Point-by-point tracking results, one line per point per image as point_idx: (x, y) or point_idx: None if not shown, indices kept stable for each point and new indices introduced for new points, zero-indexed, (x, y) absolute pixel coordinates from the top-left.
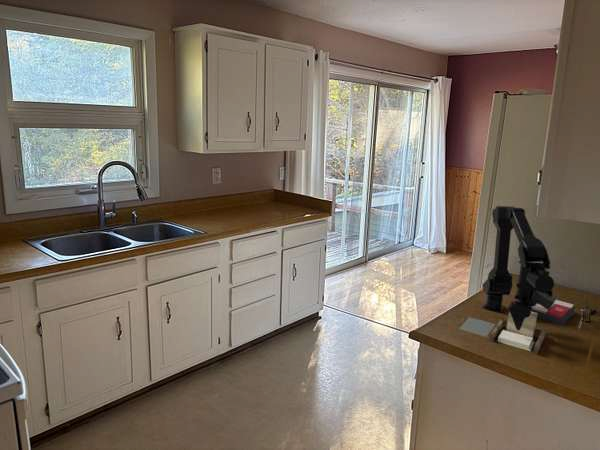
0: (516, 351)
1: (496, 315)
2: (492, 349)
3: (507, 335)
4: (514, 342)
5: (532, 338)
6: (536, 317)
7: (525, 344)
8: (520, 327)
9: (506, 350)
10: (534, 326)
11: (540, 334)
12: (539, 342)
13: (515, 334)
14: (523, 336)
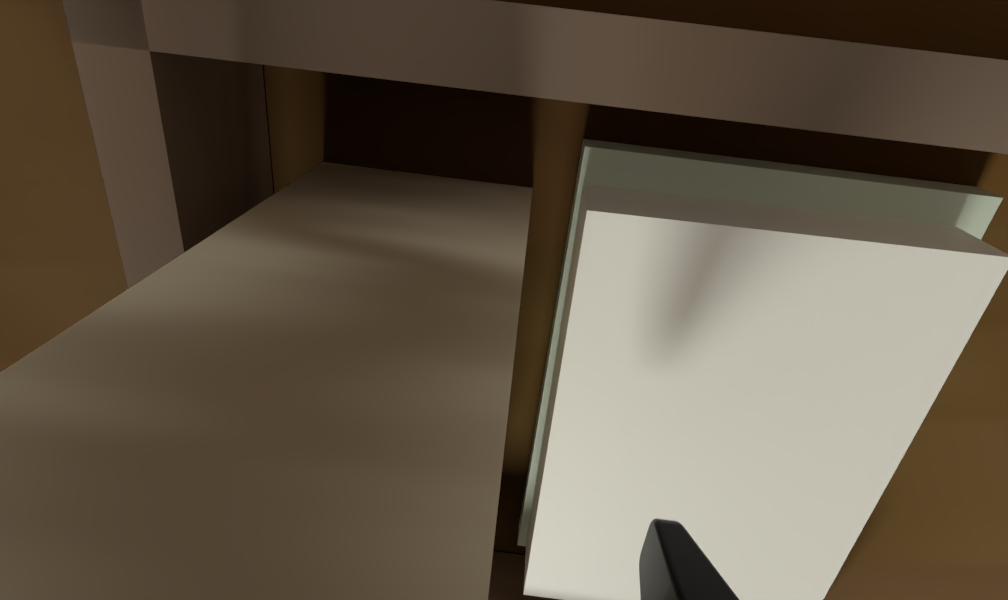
0: (979, 366)
1: None
2: (996, 589)
3: None
4: (884, 457)
5: (613, 215)
6: (75, 472)
7: (972, 321)
8: (727, 593)
9: (981, 471)
10: (380, 302)
11: (447, 76)
12: (985, 75)
13: (592, 465)
14: (605, 360)
